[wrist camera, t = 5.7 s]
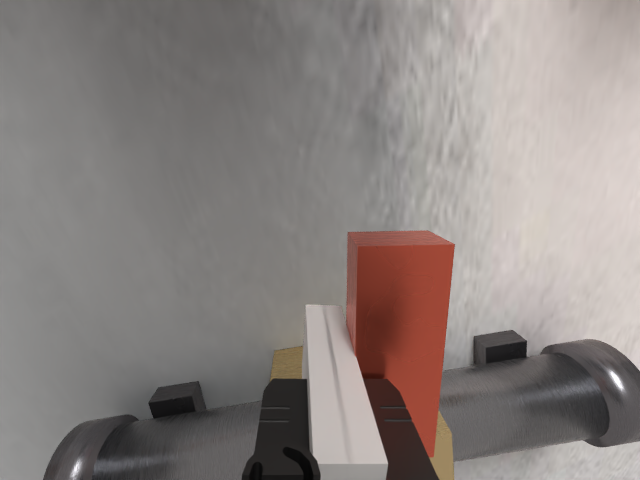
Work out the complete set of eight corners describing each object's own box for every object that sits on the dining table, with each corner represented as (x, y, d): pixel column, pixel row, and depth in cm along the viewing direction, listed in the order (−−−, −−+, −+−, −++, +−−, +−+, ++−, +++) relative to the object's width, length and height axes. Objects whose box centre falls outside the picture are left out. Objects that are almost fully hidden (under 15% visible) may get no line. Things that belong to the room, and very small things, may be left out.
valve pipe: (101, 378, 22) (-75, 565, 12) (560, 304, 23) (775, 419, 13) (133, 464, 24) (5, 691, 14) (556, 394, 25) (740, 558, 15)
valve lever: (407, 585, 14) (422, 646, 12) (335, 590, 14) (340, 653, 12) (437, 230, 10) (465, 244, 8) (338, 232, 10) (346, 246, 8)
